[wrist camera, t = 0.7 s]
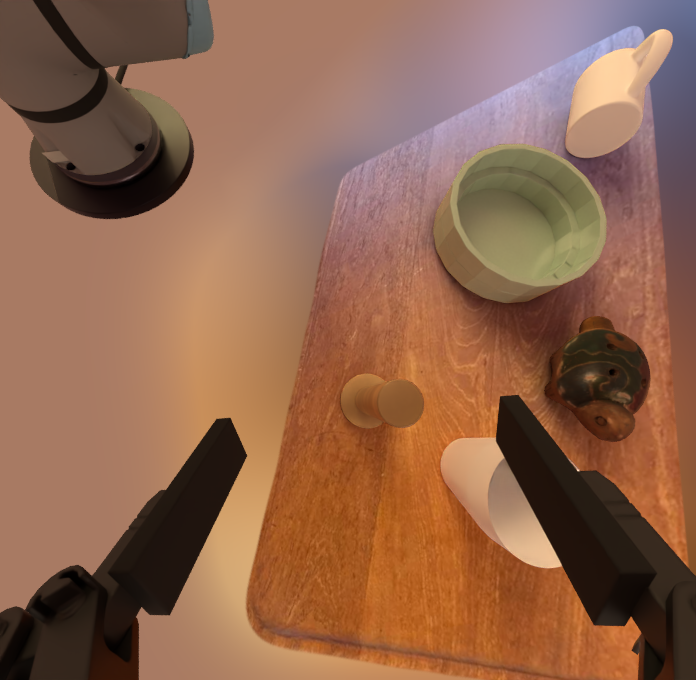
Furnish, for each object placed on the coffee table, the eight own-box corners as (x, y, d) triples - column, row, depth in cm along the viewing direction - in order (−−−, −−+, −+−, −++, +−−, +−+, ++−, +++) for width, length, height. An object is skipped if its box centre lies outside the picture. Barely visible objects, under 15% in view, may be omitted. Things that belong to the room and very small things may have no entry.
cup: (427, 428, 34) (479, 444, 22) (498, 427, 34) (585, 442, 23) (432, 509, 32) (492, 573, 20) (507, 506, 32) (607, 568, 21)
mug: (551, 149, 44) (631, 59, 32) (559, 101, 46) (638, 0, 34) (600, 165, 44) (699, 80, 32) (606, 116, 46) (701, 21, 34)
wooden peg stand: (332, 386, 34) (333, 376, 17) (378, 366, 35) (423, 337, 18) (352, 436, 33) (376, 476, 16) (400, 414, 34) (468, 430, 17)
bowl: (408, 205, 40) (423, 169, 34) (519, 166, 43) (552, 126, 36) (472, 325, 37) (501, 310, 31) (587, 275, 40) (637, 252, 33)
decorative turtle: (530, 429, 34) (585, 432, 27) (534, 319, 39) (582, 294, 31) (608, 448, 34) (686, 455, 26) (603, 334, 38) (669, 313, 31)
